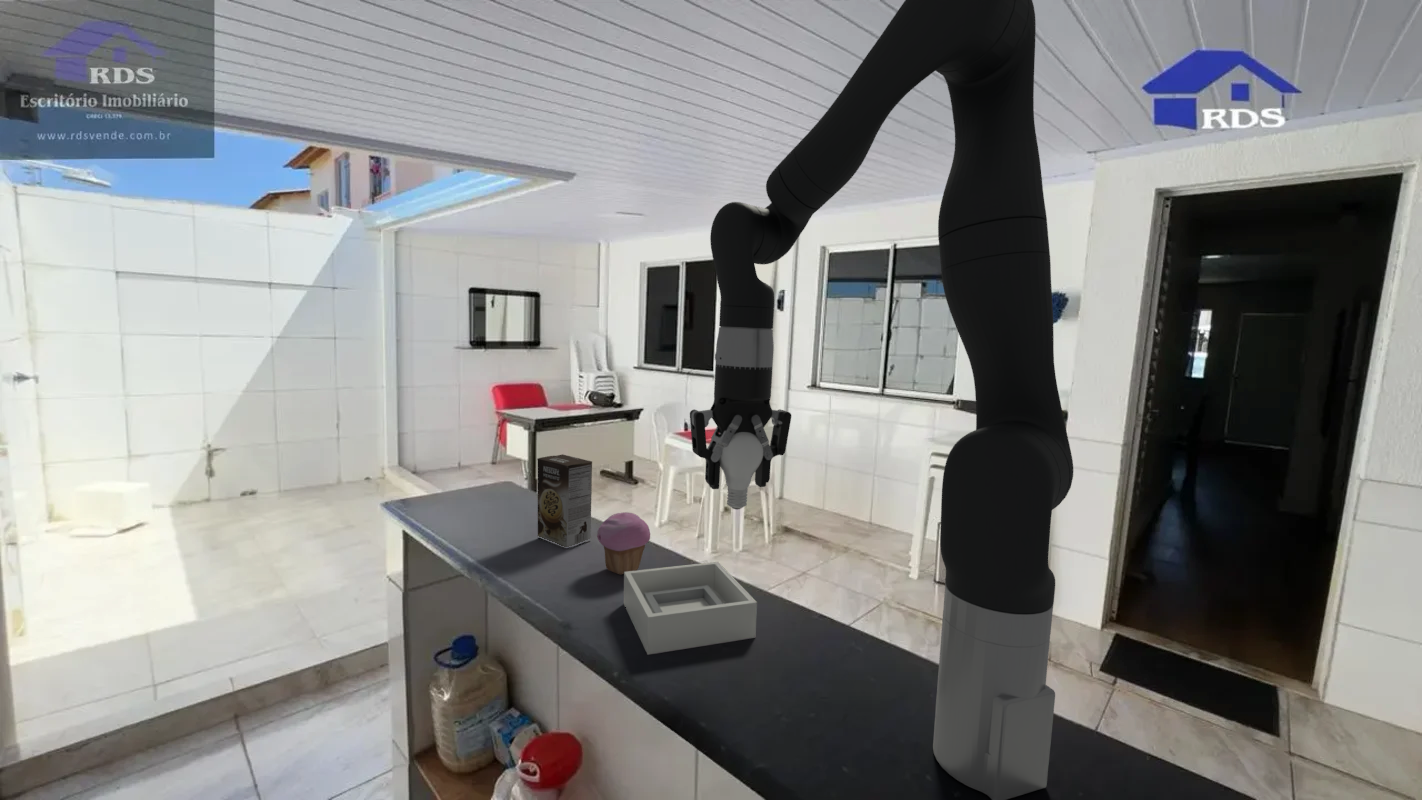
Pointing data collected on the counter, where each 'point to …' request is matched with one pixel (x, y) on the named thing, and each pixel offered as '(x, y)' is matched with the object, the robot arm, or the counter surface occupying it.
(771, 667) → the counter surface
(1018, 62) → the robot arm
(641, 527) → the cupcake
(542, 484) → the coffee box
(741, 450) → the lightbulb
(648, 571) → the walled box
